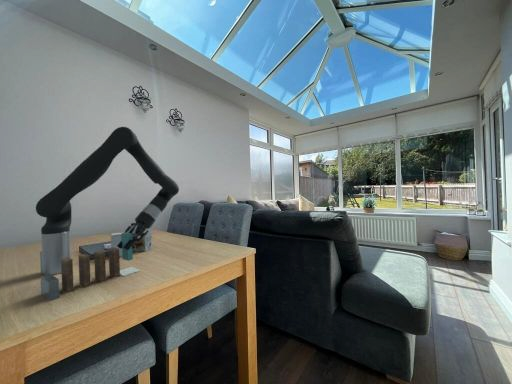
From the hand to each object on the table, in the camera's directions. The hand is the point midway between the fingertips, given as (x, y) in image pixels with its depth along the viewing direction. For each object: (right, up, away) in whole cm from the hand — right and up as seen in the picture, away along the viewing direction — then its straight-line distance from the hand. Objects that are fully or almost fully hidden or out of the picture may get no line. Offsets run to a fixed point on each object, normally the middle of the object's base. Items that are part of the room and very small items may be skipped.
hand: (122, 248), depth 92 cm
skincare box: (-18, -11, +26) cm, 34 cm away
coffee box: (-11, -11, +38) cm, 41 cm away
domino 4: (-2, -11, -3) cm, 11 cm away
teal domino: (+1, -5, +2) cm, 6 cm away
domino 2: (-7, -11, -11) cm, 17 cm away
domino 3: (-4, -11, -7) cm, 13 cm away
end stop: (-13, -11, -19) cm, 25 cm away
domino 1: (-10, -11, -15) cm, 21 cm away
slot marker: (+1, -10, +2) cm, 11 cm away
